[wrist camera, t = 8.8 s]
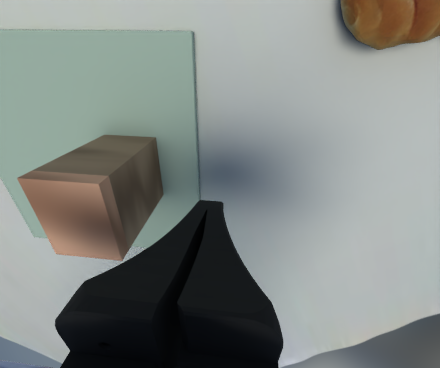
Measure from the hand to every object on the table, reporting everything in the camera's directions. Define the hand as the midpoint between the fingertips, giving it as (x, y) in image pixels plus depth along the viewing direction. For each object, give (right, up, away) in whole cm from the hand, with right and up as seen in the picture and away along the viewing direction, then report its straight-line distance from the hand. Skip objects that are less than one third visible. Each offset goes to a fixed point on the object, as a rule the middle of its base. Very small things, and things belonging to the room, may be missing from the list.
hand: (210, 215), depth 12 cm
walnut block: (-6, +3, +5) cm, 9 cm away
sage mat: (-10, +4, +6) cm, 12 cm away
